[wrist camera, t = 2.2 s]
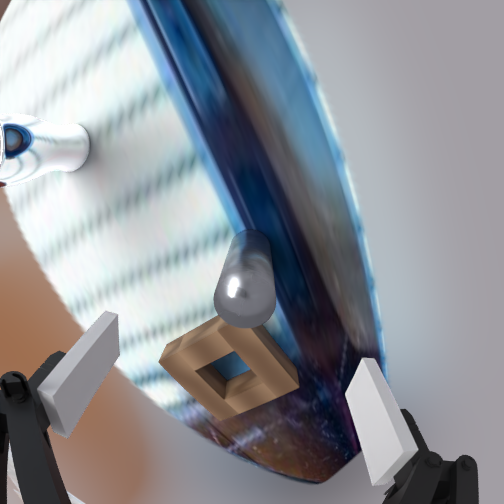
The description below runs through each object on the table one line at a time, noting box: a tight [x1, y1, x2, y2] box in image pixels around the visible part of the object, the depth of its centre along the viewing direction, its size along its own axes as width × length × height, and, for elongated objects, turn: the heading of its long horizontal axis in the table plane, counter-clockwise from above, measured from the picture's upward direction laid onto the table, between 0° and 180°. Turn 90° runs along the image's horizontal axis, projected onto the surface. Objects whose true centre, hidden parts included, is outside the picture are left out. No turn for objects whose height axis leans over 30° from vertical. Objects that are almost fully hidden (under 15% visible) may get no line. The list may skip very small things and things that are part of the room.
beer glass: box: [0, 114, 90, 188], centre depth 23 cm, size 7×7×15 cm
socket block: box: [159, 315, 299, 421], centre depth 36 cm, size 12×12×4 cm
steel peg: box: [214, 229, 276, 328], centre depth 27 cm, size 4×4×13 cm
